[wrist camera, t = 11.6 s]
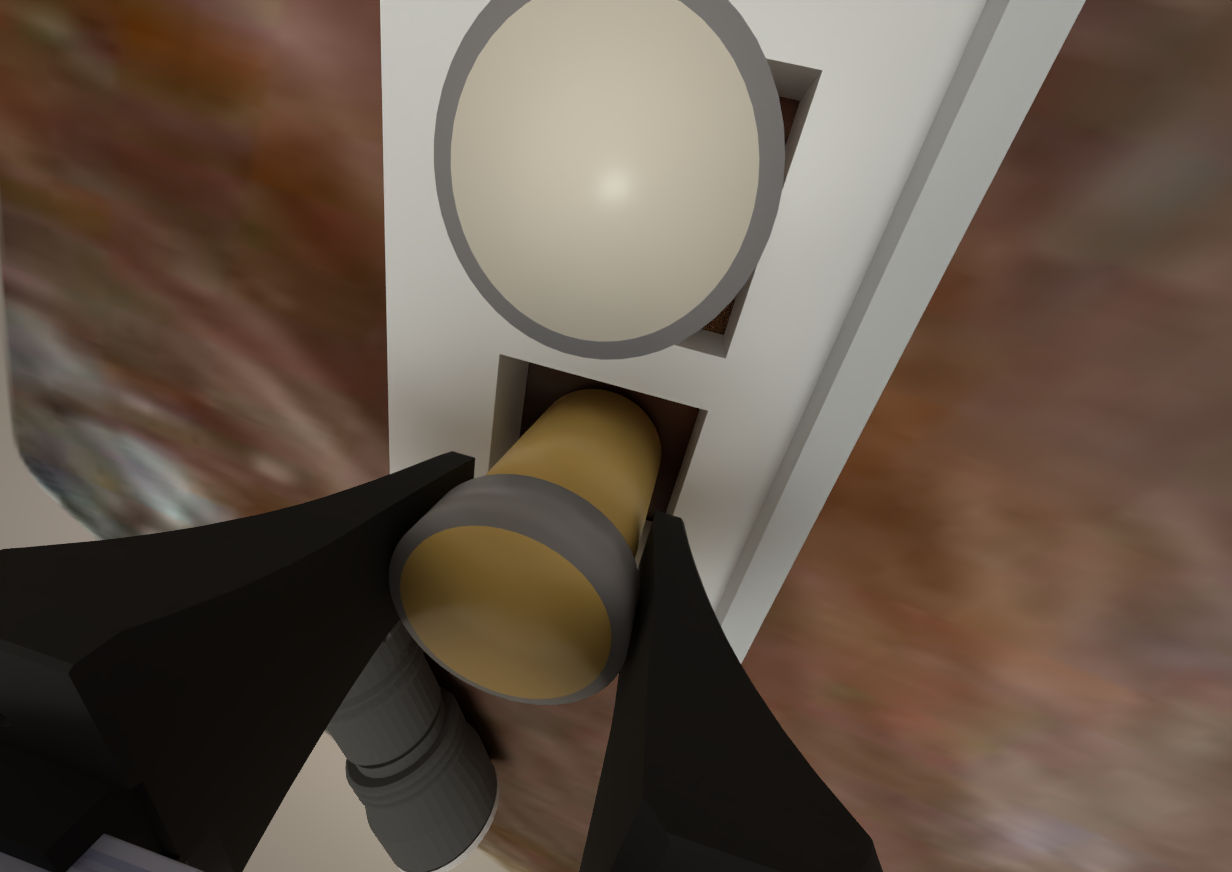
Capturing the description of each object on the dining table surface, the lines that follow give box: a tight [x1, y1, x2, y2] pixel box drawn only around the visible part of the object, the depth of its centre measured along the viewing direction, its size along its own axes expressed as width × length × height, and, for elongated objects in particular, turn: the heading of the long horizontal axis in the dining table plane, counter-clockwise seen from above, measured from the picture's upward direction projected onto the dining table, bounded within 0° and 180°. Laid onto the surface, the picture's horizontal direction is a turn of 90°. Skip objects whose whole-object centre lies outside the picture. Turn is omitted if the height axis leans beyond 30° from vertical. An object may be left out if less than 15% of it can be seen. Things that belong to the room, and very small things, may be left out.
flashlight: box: [326, 619, 500, 872], centre depth 20 cm, size 15×5×5 cm, turn 12°
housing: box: [380, 0, 1086, 664], centre depth 12 cm, size 12×16×4 cm
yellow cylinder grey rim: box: [389, 389, 662, 705], centre depth 11 cm, size 5×5×7 cm
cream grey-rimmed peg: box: [434, 0, 785, 360], centre depth 9 cm, size 5×5×7 cm
